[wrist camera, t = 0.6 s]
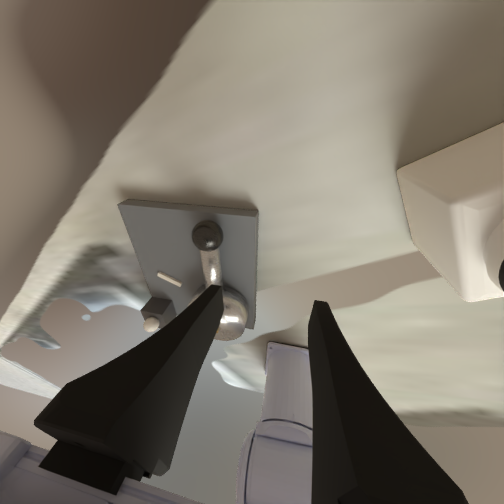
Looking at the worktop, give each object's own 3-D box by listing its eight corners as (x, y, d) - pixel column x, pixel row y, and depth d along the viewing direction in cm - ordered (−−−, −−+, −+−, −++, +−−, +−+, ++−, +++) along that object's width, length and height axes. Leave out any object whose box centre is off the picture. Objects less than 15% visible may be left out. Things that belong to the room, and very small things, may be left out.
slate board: (255, 320, 28) (252, 331, 26) (163, 303, 30) (156, 313, 29) (258, 210, 19) (254, 218, 17) (127, 199, 21) (114, 205, 20)
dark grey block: (176, 315, 28) (161, 339, 25) (157, 311, 29) (139, 335, 26) (172, 300, 27) (154, 324, 24) (152, 296, 27) (132, 320, 24)
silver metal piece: (249, 327, 26) (244, 348, 24) (199, 318, 27) (189, 337, 25) (249, 218, 18) (241, 234, 15) (176, 211, 19) (158, 225, 16)
